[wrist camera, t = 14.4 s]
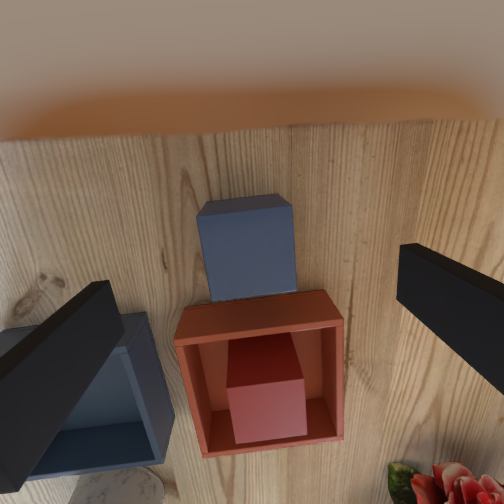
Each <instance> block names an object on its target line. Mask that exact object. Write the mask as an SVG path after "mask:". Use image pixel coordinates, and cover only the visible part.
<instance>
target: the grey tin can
mask: <svg viewBox="0 0 504 504" xmlns="http://www.w3.org/2000/svg"><path fill="white" fill-rule="evenodd" d="M164 493H165V489H164V485H163V483H162V481H161V480H160V478H159V477H158V476H157V475H156V474H155V473H154V472H152V471H151V470H149V469H148V468H146V467H143V466H141V467H134V468H126V469H118V470H111V471H103V472H95V473H88V474H83V475H82V476H81V477H80V479H79V480H78V483H77V486H76V488H75V490H74V492H73V494H72V496H71V498H70V501H69V503H68V504H162V501H163V499H164Z"/></svg>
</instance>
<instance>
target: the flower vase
mask: <svg viewBox="0 0 504 504" xmlns="http://www.w3.org/2000/svg"><path fill="white" fill-rule="evenodd" d="M388 469H389V473H388V488H389V493H390V496H391V498H392V500H393V502H394V504H504V485H501V484H500V483H499V482H498V481H496V480H495V479H493V478H492V477H490V476H489V475H488V474H482V476H481V477H480V479H476V478H475V477H474V476H473V474H472V473H471V472H470V470H469V469H468V468H466V467H463V464H462V463H457V462H444V463H441V464H438V465H435V464H433V474H434V477H435V478H434V477H430V476H427V475H422V474H421V473H419V472H418V471H417V470H416V469H414V468H413V467H412V466H409V465H405V464H402V463H396V464H395V463H389V465H388Z"/></svg>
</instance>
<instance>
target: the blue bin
mask: <svg viewBox="0 0 504 504" xmlns="http://www.w3.org/2000/svg"><path fill="white" fill-rule="evenodd" d="M120 317H121V320H122V323H123V326H124V330H125V333H124V335H123V336H122V338H121V339H120V341H119V342H118V344H117V345H116V347H115V348H114V350H113V351H112V353H111V354H110V356H109V357H108V358H107V360H106V361H105V363H104V364H103V366H102V367H101V369H100V370H99V372H98V373H97V375H96V376H95V378H94V379H93V381H92V382H91V384H90V385H89V387H88V388H87V390H86V391H85V393H84V394H83V396H82V397H81V399H80V400H79V402H78V403H77V405H76V406H75V408H74V409H73V411H72V412H71V414H70V415H69V417H68V418H67V420H66V421H65V423H64V424H63V426H62V427H61V429H60V430H59V432H58V433H57V435H56V436H55V438H54V439H53V441H52V442H51V444H50V445H49V447H48V448H47V450H46V451H45V453H44V454H43V456H42V457H41V459H40V460H39V462H38V463H37V465H36V466H35V468H34V469H33V471H32V472H31V474H30V475H29V476H28V478H27V479H26V481H34V480H42V479H49V478H57V477H65V476H72V475H80V474H88V473H95V472H103V471H111V470H118V469H126V468H134V467H141V466H149V465H157V464H163V463H164V460H165V456H166V452H167V448H168V444H169V439H170V435H171V431H172V427H173V423H174V419H175V414H174V411H173V407H172V404H171V400H170V396H169V393H168V389H167V386H166V382H165V378H164V375H163V371H162V368H161V364H160V360H159V357H158V353H157V350H156V346H155V342H154V339H153V335H152V332H151V328H150V324H149V321H148V317H147V314H146V312H142V313H134V314H126V315H120ZM38 326H39V325H38ZM38 326H30V327H22V328H14V329H6V330H3V331H2V332H0V357H1V356H3V355H4V354H5V353H6V352H7V351H9V350H10V349H11V348H12V347H14V346H15V345H16V344H17V343H18V342H20V341H21V340H22V339H23V338H24V337H26V336H27V335H28V334H29V333H31V332H32V331H33V330H34V329H35V328H37V327H38ZM26 481H25V482H26Z"/></svg>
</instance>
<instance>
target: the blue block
mask: <svg viewBox="0 0 504 504" xmlns="http://www.w3.org/2000/svg"><path fill="white" fill-rule="evenodd" d="M196 219H197V225H198V230H199V235H200V241H201V246H202V252H203V257H204V263H205V268H206V274H207V279H208V285H209V290H210V296H211V301H219V300H227V299H235V298H243V297H251V296H259V295H267V294H275V293H283V292H291V291H297V276H296V261H295V245H294V229H293V213H292V205H291V204H290V203H289V202H287V201H286V200H285V199H284V198H283V197H282V196H280V195H279V194H278V193H277V194H269V195H261V196H252V197H244V198H236V199H227V200H219V201H211V202H206V204H205V205H204V207H203V208H202V210H201V211H200V212H199V214H198V215H197V217H196Z"/></svg>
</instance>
